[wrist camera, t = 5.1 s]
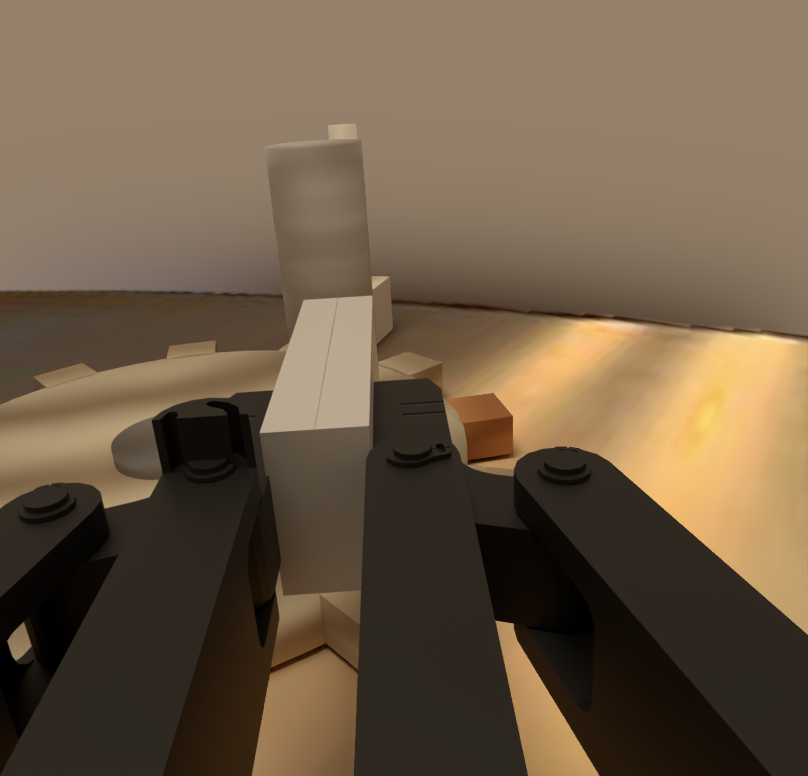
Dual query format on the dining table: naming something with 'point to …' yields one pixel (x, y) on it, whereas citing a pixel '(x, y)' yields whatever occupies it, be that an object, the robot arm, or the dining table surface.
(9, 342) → the dining table surface
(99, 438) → the sprocket
